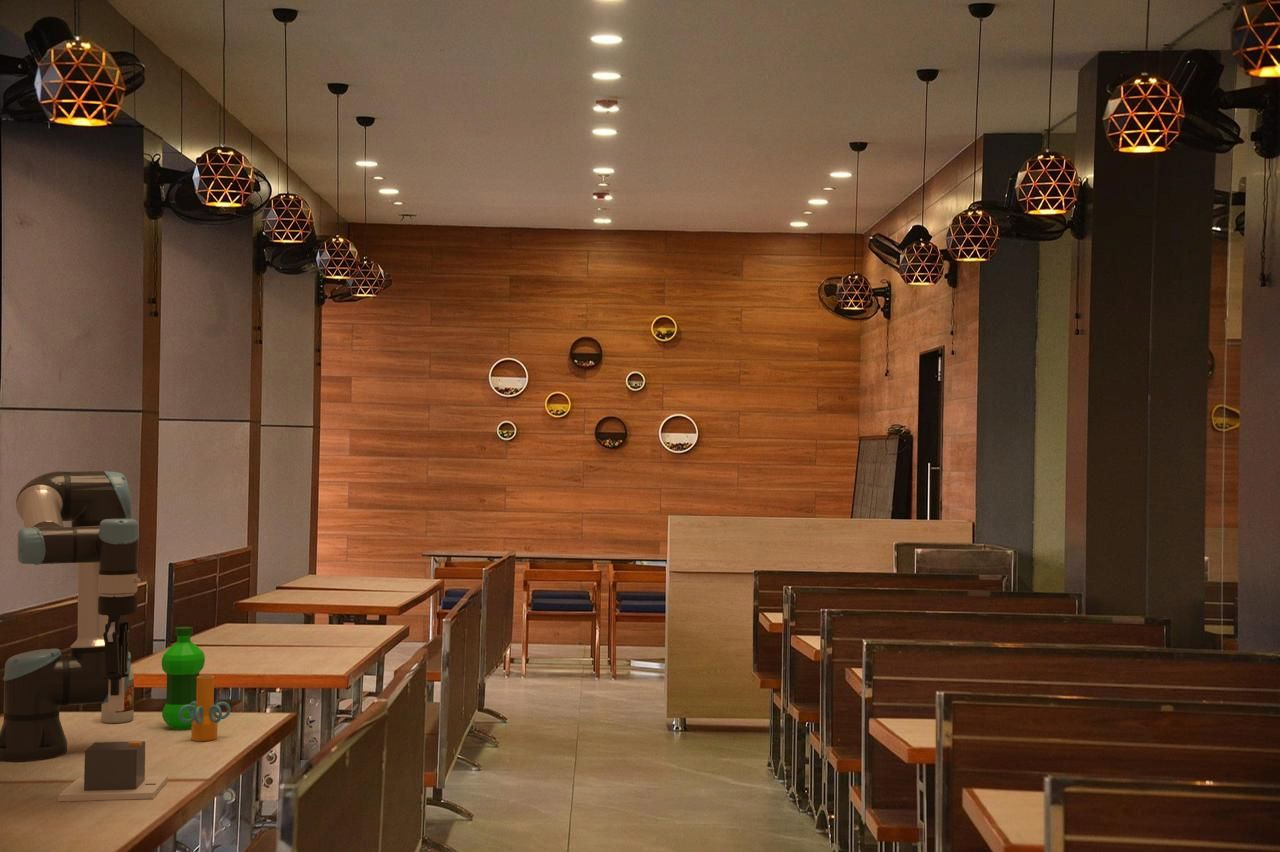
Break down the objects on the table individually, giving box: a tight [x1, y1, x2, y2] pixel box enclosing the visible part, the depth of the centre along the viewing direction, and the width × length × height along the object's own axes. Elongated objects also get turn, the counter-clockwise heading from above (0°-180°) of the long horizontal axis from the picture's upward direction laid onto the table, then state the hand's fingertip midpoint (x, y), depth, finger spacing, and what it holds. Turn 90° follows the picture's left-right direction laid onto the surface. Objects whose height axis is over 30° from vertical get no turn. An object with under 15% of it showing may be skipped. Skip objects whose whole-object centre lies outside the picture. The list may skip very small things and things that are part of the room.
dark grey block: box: [83, 740, 146, 791], centre depth 273 cm, size 10×8×9 cm
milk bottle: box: [100, 665, 135, 724], centre depth 345 cm, size 8×8×20 cm
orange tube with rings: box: [179, 675, 231, 742], centre depth 324 cm, size 12×10×15 cm
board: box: [57, 775, 169, 802], centre depth 273 cm, size 18×14×7 cm
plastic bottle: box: [161, 626, 206, 730], centre depth 337 cm, size 10×10×25 cm
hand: (116, 710), depth 273 cm, fingers closed
